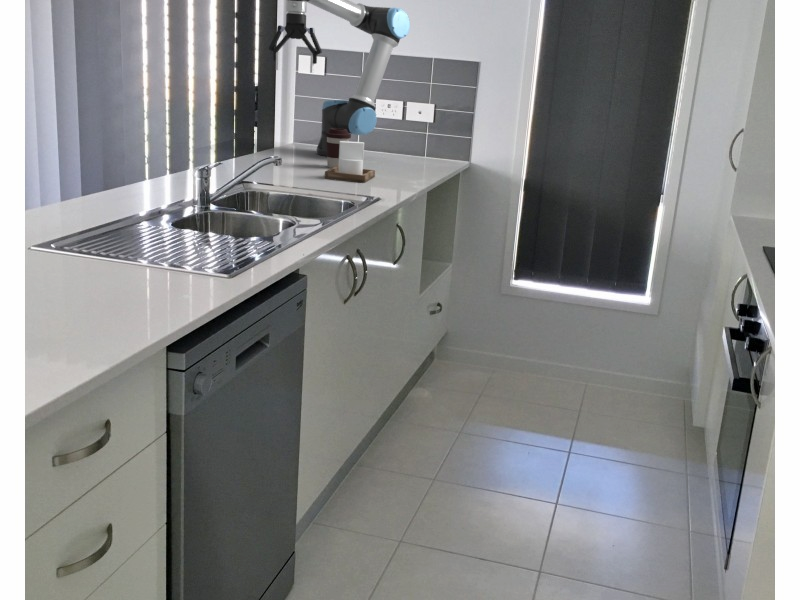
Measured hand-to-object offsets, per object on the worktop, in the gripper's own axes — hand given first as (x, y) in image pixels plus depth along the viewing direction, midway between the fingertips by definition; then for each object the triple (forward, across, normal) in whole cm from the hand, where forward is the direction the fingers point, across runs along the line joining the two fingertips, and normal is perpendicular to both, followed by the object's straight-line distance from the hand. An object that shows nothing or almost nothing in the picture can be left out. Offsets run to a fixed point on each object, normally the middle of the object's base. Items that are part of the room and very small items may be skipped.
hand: (294, 71), depth 327 cm
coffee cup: (+36, +18, -1) cm, 40 cm away
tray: (+35, +28, -21) cm, 50 cm away
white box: (+34, +28, -21) cm, 49 cm away
